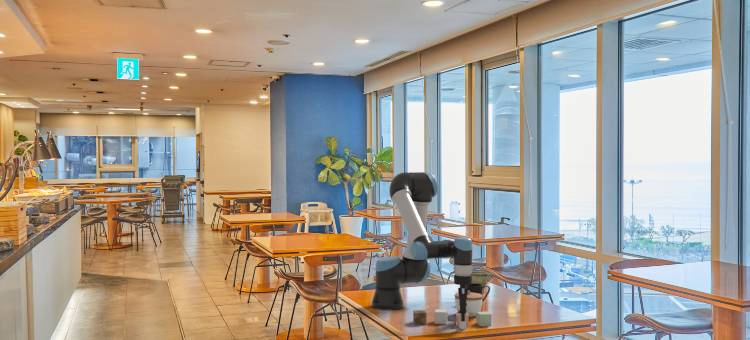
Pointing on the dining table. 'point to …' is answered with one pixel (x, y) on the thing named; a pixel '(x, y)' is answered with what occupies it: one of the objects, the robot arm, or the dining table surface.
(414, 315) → the walnut block
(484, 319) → the sage block
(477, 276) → the ceramic cup
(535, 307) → the dining table surface
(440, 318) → the grey block
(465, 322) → the robot arm
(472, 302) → the lidded bowl
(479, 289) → the mug
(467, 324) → the terracotta block
